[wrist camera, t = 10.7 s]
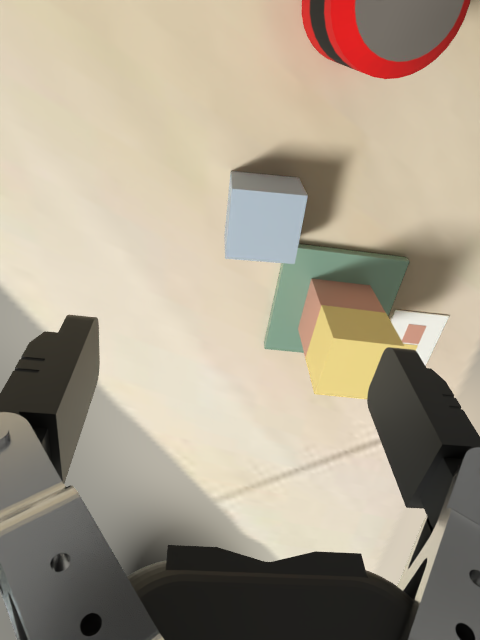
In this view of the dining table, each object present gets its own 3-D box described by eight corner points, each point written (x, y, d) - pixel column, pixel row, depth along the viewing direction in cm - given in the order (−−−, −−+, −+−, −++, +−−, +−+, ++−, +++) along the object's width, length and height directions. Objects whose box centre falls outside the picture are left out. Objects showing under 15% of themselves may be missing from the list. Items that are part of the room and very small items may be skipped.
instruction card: (395, 309, 48) (395, 310, 48) (448, 315, 49) (449, 316, 49) (372, 368, 53) (372, 369, 52) (421, 372, 53) (422, 373, 53)
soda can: (335, -88, 31) (392, -139, 21) (426, -28, 33) (518, -48, 23) (282, 33, 34) (309, 41, 24) (367, 80, 36) (423, 105, 26)
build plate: (286, 242, 44) (287, 246, 43) (405, 257, 45) (409, 261, 44) (263, 343, 50) (264, 348, 49) (368, 353, 51) (371, 359, 51)
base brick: (311, 278, 45) (320, 305, 40) (370, 285, 45) (385, 312, 41) (297, 328, 48) (305, 358, 44) (353, 334, 49) (365, 364, 44)
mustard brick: (321, 304, 40) (333, 338, 36) (386, 312, 41) (404, 346, 37) (305, 358, 44) (314, 394, 40) (365, 364, 44) (380, 400, 40)
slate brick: (230, 170, 40) (232, 188, 36) (298, 177, 40) (307, 195, 36) (224, 234, 43) (225, 258, 39) (287, 240, 44) (294, 264, 39)
